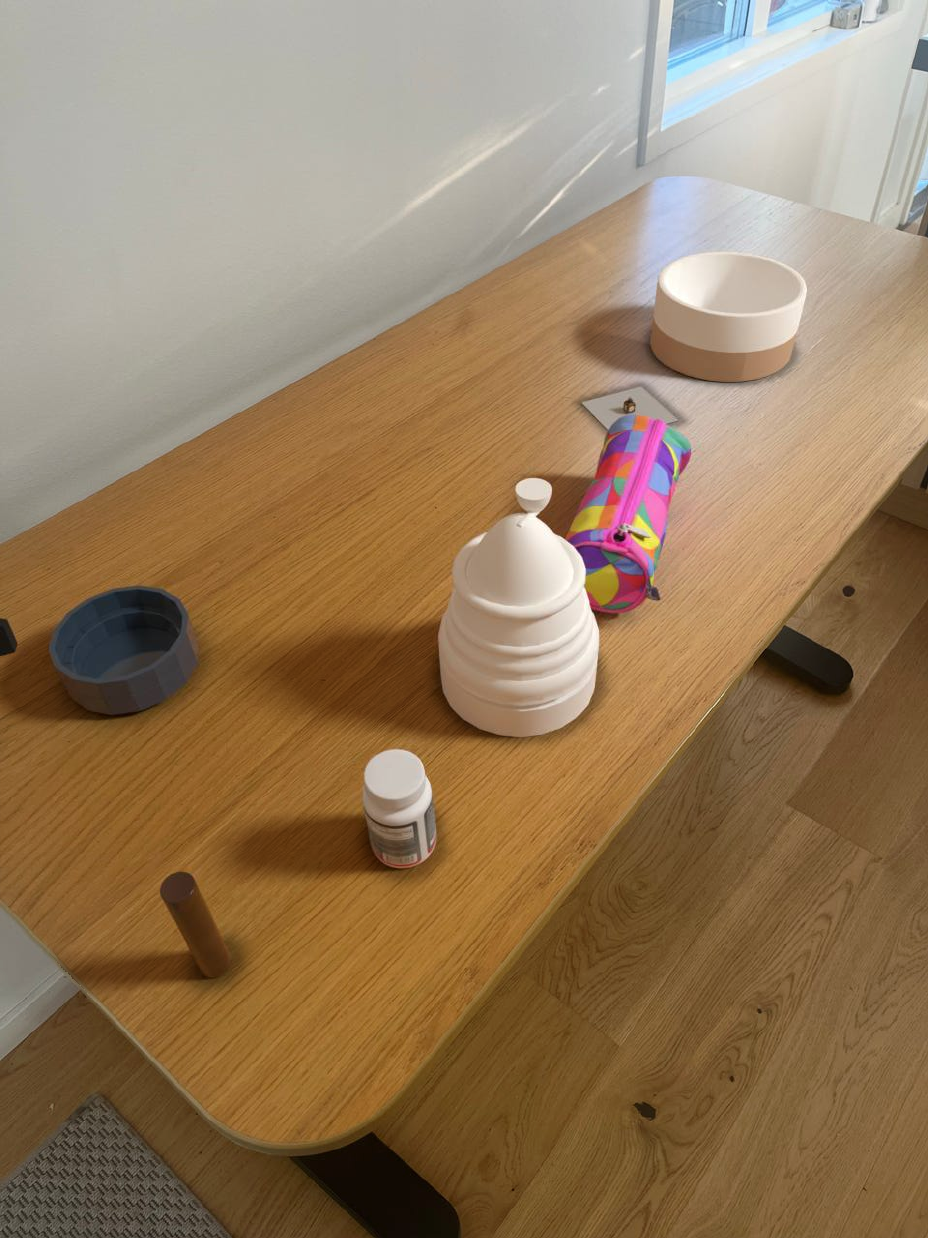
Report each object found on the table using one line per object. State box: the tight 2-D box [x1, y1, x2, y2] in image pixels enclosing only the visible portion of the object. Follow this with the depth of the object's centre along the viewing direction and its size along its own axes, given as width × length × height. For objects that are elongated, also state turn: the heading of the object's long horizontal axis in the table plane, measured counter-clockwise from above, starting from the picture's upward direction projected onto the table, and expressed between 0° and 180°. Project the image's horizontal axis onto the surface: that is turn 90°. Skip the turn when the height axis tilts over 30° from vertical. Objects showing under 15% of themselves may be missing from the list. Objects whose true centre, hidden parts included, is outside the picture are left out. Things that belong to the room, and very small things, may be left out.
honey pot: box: [437, 477, 601, 738], centre depth 70 cm, size 13×13×18 cm
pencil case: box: [564, 415, 692, 614], centre depth 84 cm, size 22×9×9 cm, turn 163°
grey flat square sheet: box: [580, 386, 679, 431], centre depth 103 cm, size 8×8×2 cm
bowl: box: [649, 251, 808, 383], centre depth 110 cm, size 17×17×8 cm
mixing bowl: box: [48, 584, 200, 716], centre depth 76 cm, size 11×11×4 cm
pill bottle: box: [361, 748, 438, 869], centre depth 62 cm, size 5×5×8 cm
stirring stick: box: [159, 871, 232, 979], centre depth 56 cm, size 2×2×10 cm
